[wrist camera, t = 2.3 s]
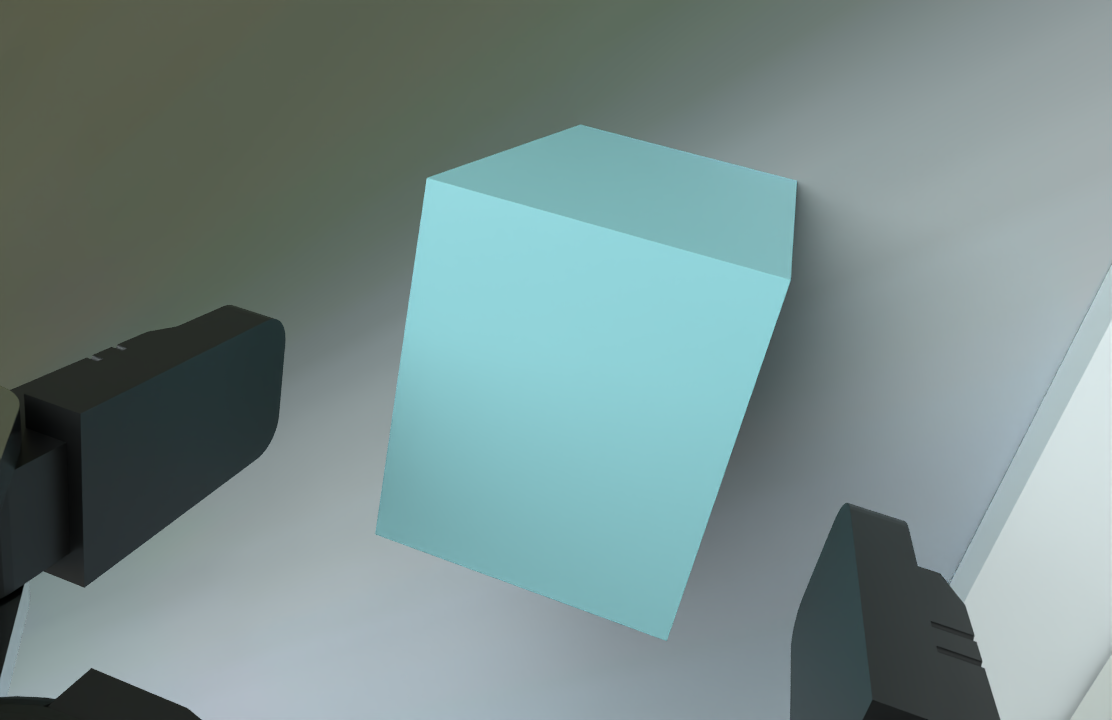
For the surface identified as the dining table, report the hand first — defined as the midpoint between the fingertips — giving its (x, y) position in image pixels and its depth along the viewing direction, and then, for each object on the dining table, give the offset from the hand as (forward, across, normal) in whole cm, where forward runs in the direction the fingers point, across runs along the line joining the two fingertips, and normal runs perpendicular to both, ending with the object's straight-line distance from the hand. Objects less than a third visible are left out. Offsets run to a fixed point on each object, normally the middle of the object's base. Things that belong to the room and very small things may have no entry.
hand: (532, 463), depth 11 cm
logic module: (+9, 0, 0) cm, 9 cm away
